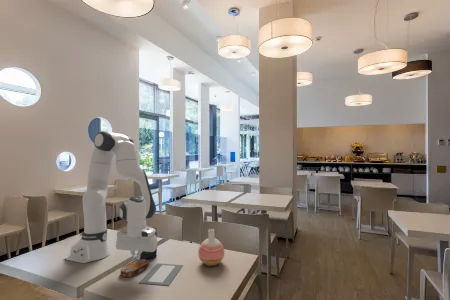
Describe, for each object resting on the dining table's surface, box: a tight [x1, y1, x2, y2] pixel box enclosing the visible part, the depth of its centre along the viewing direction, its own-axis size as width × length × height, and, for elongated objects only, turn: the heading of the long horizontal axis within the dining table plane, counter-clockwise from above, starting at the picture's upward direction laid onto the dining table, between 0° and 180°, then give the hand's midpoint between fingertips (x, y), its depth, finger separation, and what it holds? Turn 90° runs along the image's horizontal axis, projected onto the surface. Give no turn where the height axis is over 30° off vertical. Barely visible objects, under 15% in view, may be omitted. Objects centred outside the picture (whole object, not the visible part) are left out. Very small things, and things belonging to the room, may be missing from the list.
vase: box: [197, 228, 225, 267], centre depth 127 cm, size 14×14×18 cm
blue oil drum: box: [137, 226, 158, 261], centre depth 136 cm, size 10×10×15 cm
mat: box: [138, 262, 184, 287], centre depth 117 cm, size 14×19×1 cm
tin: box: [120, 259, 150, 278], centre depth 120 cm, size 15×3×8 cm
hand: (136, 259), depth 118 cm, fingers closed
